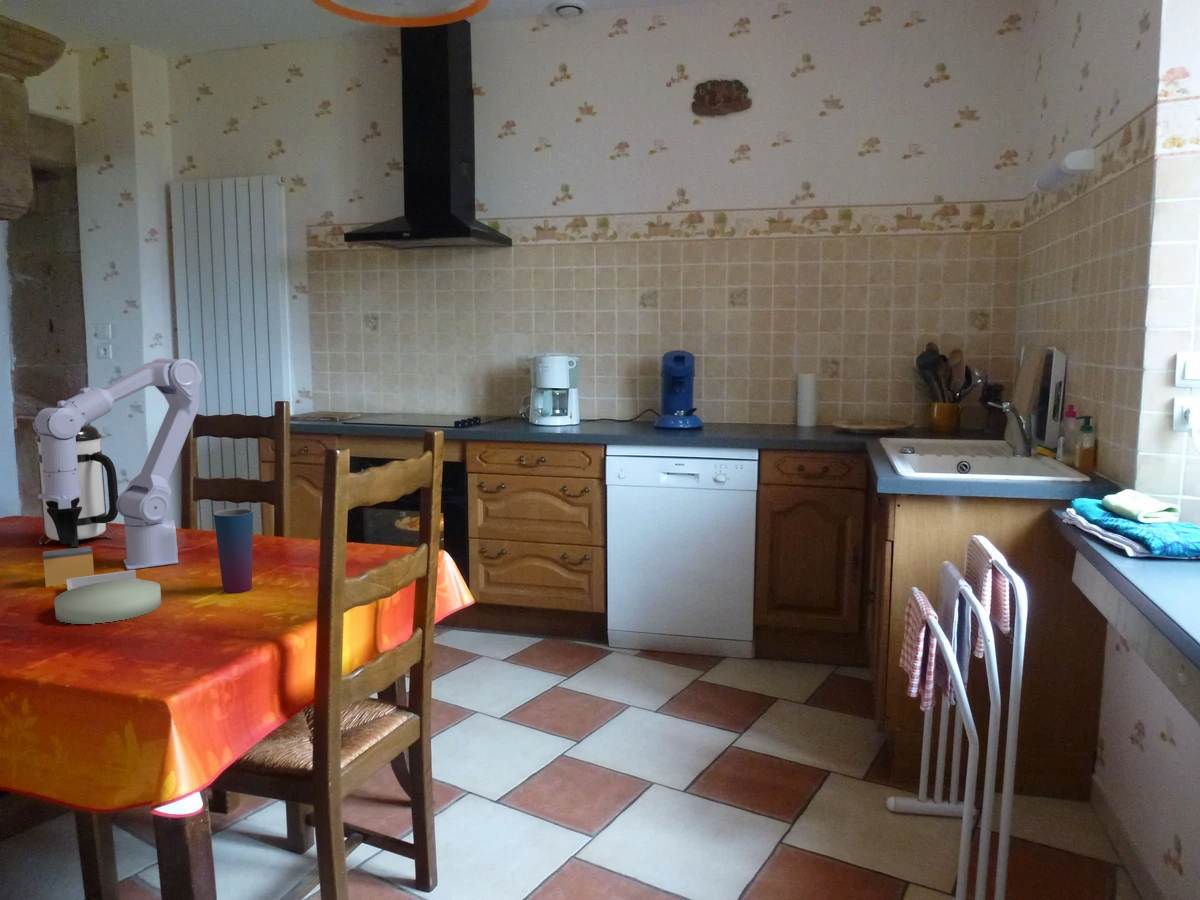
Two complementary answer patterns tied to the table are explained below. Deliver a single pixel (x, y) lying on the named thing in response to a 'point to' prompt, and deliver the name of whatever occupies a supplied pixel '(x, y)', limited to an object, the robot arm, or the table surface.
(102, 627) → the table surface
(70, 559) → the rectangular flat-faced block
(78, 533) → the coffee press
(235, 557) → the cup
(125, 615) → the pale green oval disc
